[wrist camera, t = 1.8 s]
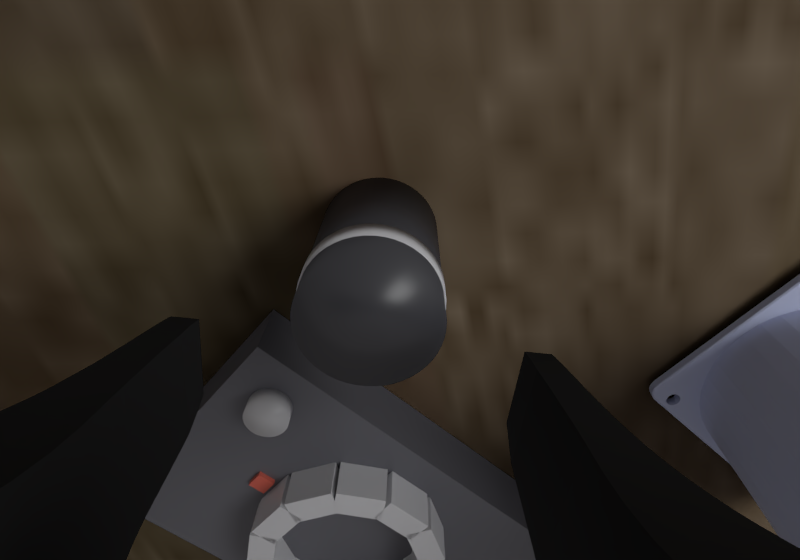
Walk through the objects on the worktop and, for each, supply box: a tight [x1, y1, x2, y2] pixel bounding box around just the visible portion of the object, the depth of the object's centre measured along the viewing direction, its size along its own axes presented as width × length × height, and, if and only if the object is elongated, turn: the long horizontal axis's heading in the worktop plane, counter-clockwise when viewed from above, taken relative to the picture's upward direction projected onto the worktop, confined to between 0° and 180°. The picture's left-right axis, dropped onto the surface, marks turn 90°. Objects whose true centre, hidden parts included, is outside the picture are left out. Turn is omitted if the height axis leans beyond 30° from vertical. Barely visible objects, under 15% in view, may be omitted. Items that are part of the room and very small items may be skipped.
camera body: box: [145, 309, 536, 560], centre depth 24 cm, size 16×10×4 cm, turn 49°
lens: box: [290, 178, 447, 386], centre depth 17 cm, size 4×4×6 cm
